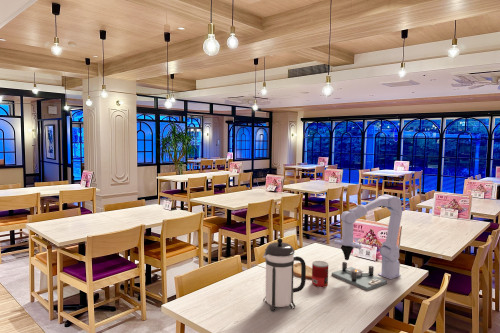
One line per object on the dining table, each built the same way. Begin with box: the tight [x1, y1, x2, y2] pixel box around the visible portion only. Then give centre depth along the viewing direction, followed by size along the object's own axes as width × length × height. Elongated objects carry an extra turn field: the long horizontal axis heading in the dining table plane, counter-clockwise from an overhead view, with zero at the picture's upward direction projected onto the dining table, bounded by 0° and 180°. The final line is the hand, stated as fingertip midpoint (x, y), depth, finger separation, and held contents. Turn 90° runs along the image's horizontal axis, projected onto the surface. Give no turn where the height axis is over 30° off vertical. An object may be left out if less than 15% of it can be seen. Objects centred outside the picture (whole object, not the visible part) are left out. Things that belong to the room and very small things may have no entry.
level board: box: [331, 266, 388, 292], centre depth 182 cm, size 16×23×4 cm
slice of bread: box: [293, 262, 312, 281], centre depth 191 cm, size 18×18×4 cm
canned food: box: [311, 260, 329, 288], centre depth 175 cm, size 8×8×11 cm
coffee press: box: [262, 237, 307, 313], centre depth 153 cm, size 17×16×30 cm
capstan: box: [341, 261, 375, 282], centre depth 181 cm, size 14×16×4 cm
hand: (347, 259), depth 182 cm, fingers closed
